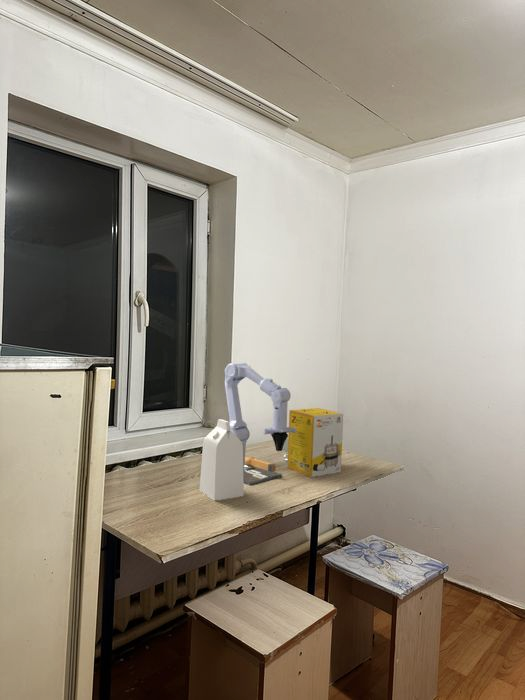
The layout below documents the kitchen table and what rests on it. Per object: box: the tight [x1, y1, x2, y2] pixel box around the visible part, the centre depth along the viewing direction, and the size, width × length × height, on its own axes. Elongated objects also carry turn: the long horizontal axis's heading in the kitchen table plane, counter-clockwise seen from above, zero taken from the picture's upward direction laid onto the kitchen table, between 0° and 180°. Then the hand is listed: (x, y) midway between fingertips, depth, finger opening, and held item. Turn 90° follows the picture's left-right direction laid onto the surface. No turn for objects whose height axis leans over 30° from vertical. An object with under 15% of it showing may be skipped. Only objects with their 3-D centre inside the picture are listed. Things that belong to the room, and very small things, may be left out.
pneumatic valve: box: [282, 437, 288, 462], centre depth 216 cm, size 6×12×12 cm, turn 51°
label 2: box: [253, 474, 268, 479], centre depth 186 cm, size 5×4×1 cm
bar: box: [245, 456, 277, 472], centre depth 194 cm, size 16×4×3 cm, turn 45°
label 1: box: [246, 470, 261, 475], centre depth 191 cm, size 5×4×1 cm
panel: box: [243, 464, 283, 486], centre depth 192 cm, size 20×18×2 cm
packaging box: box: [286, 407, 344, 478], centre depth 202 cm, size 16×16×25 cm
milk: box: [198, 418, 245, 502], centre depth 168 cm, size 12×12×26 cm
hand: (278, 450), depth 195 cm, fingers closed
